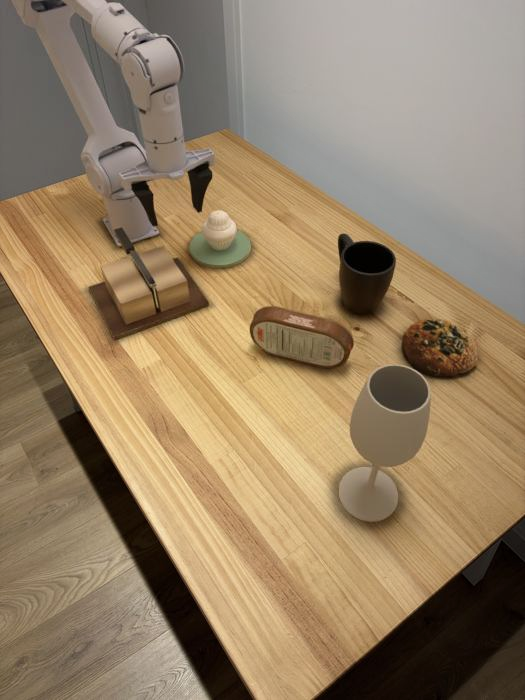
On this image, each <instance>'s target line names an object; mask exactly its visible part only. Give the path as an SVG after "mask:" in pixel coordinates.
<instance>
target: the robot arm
mask: <svg viewBox="0 0 525 700" xmlns="http://www.w3.org/2000/svg"><path fill="white" fill-rule="evenodd" d="M11 2H12V5H13V7H14V8H15V10H16V13H17V14H18V16H19V17H20V19H21V21H22V23H23V25H25V26H28V27H31V28H34V29H35V31H36V33H37V35H38V37H39V39H40V41H41V44H43V47H44V49H45V51H46V53H47V55H48V57H49V59H50V61H51V63H52V66H53V67H54V69H55V71H56V74H57V75H58V77H59V81H61V84H62V86H63V88H64V89H65V92H66V94H67V96H68V98H69V100H70V102H71V104H72V107H73V108H74V110H75V112H76V114H77V116H78V118H79V120H80V122H81V124H82V126H83V128H84V131H85V133H86V134H87V140H86V141H85V144H84V147H83V149H82V151H81V154H80V159H81V162H82V164H83V166H84V170H85V175H86V178H87V181H88V182H89V184H90V186H91V187H92V189H93V190H94V191H95V192H96V193H97V194H98V195H100V196H102V197H101V198H102V201H103V205H104V209H105V213H106V217H103V218H102V222H103V224H104V225H105V227H106V229H107V230H108V233H109V234H110V235H111V237H112V238H113V240H114V242H115V244H116V246H117V247H122V245H121V244H120V242H119V240H118V239H117V237H116V235H115V232H114V229H118V228H121V227H122V228H123V230H124V231H125V233H126V235H127V236H128V238H129V239H130V241H131V243H132V244H134V243H137V242H140V241H143V240H146V239H150V238H153V237H155V236H159V235H160V231H159V230H158V228H157V226H158V219H157V215H156V211H155V203H154V193H153V191H152V190H151V189H150V185H149V184H148V183H149V182H152V181H155V180H163V179H164V180H165V179H166V180H167V179H169V180H171V181H177V180H180V179H184V177H185V174H186V173H187V177H188V181H189V187H190V198H191V204H192V208H194V210H195V211H196V212H197V213H198V214H199V213H202V212H203V206H204V200H205V197H206V196H205V195H206V194H207V193H206V192H207V190H208V188H209V185H210V183H211V182H212V180H213V171H212V169H211V168H210V167H214V166H216V155H215V152H214V151H212V150H211V148H204V149H199V150H198V149H197V150H186V145H185V135H184V127H183V120H182V111H181V103H180V97H179V96H180V95H179V88H178V83H181V82H182V81H183V79H184V77H185V71H186V70H185V69H186V68H185V61H184V58H183V55H182V52H181V50H180V48H179V46H178V45H177V43H176V42H175V41H174V40H173V38H172V37H171V36H170V35H168V34H160V35H159V34H158V33H157V32H155V33H151V32H150V31H149V30H148V29H147V28H146V27H145V26H144V25H143V24H142V23H141V22H140V21H139V20H138V19H137V18H136V17H135V16H134V15H132V14H131V12H129V11H128V10H127V9H126V8H125V7H124V5H123V4H121V3H120V2H107V0H11ZM75 13H76V14H77V15H79V16H80V17H81V18H82V19H83V20H84V21H86V22H87V23H88V24H89V25H90V31H91V36H92V38H93V40H94V42H95V43H96V44H98V45H99V46H100V47H101V48H102V49H103V50H104V51H105V52H106V53H107V54H108V55H109V56H110V57H111V59H113V60H114V61H115V62H116V64H118V65H119V66H120V71H121V74H122V77H123V79H124V81H125V84H126V85H127V87H128V89H129V91H130V97H131V100H132V102H133V104H134V106H135V107H137V113H138V118H139V123H140V127H141V128H140V129H141V134H142V139H143V145H144V147H143V146H142V144H141V142H140V141H139V140H138V138H137V136H136V133H134V132H132V131H129V130H126V129H124V128H122V127H120V126H118V125H117V123H116V121H115V119H114V117H113V115H112V113H111V111H110V109H109V106H108V104H107V102H106V100H105V98H104V95H103V94H102V91H101V89H100V87H99V84H98V83H97V80H96V78H95V76H94V74H93V72H92V70H91V68H90V66H89V64H88V61H87V59H86V57H85V55H84V53H83V51H82V49H81V46H80V44H79V42H78V40H77V38H76V35H75V34H74V31H73V29H72V27H71V24H70V23H71V18H72V16H73V15H74V14H75ZM116 147H120V148H117V149H115V150H112V151H109V152H108V153H106V154H103V155H101V153H103V152H104V153H105V152H106V151H108V150H111V149H113V148H116Z"/></svg>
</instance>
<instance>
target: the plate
mask: <svg viewBox="0 0 525 700" xmlns="http://www.w3.org/2000/svg"><path fill="white" fill-rule="evenodd" d="M188 248H189V254H190V257H191V258H192V259H193V261H195V262H196V263H197V264H198V265H201V266H203V267H206V268H210V269H228V268H233V267H235V266H237V265H239V264H241V263H243V262H244V261H245V260H247V259H248V257H249V255H250V254H251V251H252V243H251V240H250V238H249V237H248V236H247V234H245V232H243V231H241V230H239V229H237V231H236V234H235V237H234V239H233V241H232V243H231V244H230V246H229V247H228V248H227V249H226V250H221V251H220V250H219V251H218V250H215V249H213V248H212V247H211V245H210V244H209V243H208V242H207V241H206V239H205V237H204V235H203V233H202V231H200V232H199V233H197V234H196V235H194V237H192V239H191V241H190V242H189V247H188Z"/></svg>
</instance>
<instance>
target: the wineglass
mask: <svg viewBox="0 0 525 700" xmlns="http://www.w3.org/2000/svg"><path fill="white" fill-rule="evenodd" d="M430 386H431V385H430V383H429V382H428V380H427V379H426V378H425V377H424V375H423V374H422V373H421V372H420V371H418V370H416V369H415V368H413V367H410V366H407V365H404V364H398V363H390V364H385V365H381V366H379V367H377V368H375V369H374V370H373V371H372V372H371V373H370V374H369V375H368V377H367V379H366V381H365V383H364V385H363V387H362V388H361V390H360V392H359V394H358V396H357V398H356V400H355V403H354V406H353V408H352V411H351V416H350V421H349V436H350V440H351V443H352V445H353V447H354V449H355V451H357V453H358V455H360V456H361V457H362V458H363V459H364V460H365V461H367V462H369V463H370V464H372V467H370V466H358V467H355V468H353V469H350V470H349V471H347V472H346V473H345V474H344V475H343V476H342V478H341V480H340V481H339V485H338V498H339V501H340V504H341V506H342V507H343V508H344V510H345V511H346V512H347V513H348V514H349V515H351V516H352V517H354V518H355V519H358V520H360V521H363V522H367V523H376V522H380V521H383V520H385V519H388V517H390V516H391V515H392V514H394V512H395V511H396V508H397V506H398V502H399V492H398V489H397V486H396V483H395V482H394V481H393V480H392V478H391V477H390V476H389V475H388V474H387V473H385V472H384V471H382V470H380V467H382V468H383V467H384V468H395V467H398V466H401V465H404V464H405V463H407V462H408V461H411V460H412V459H414V458H415V456H416V455H417V454H418V453H419V451H420V450H421V448H422V446H423V444H424V441H425V439H426V437H427V433H428V428H429V423H430V422H429V421H430V416H431V415H430V414H431V403H432V401H431V400H432V392H431V387H430Z"/></svg>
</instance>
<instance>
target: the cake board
mask: <svg viewBox="0 0 525 700" xmlns="http://www.w3.org/2000/svg"><path fill="white" fill-rule="evenodd" d="M138 255H139V257H140V258H141V260H142V261H143V263H144V265H145V266H146V268H147V269H148V271H149V273H150V274H151V276H152V277H153V279H154V281H155V282H156V285H157V286H155V291H156V296H157V301H158V306H159V309H157V308H156V306H155V305H154V300H153V295H152V292H151V290H150V289H149V287H148V285H147V284H146V282H145V280H144V279H143V277H142V276H141V274H140V272H139V271H138V269H137V267H136V266H135V263H134V260H133V258H132V257H131V256H127V257H125V258H121V259H118V260H115V261H112V262H107V263H105V264H103V265H100V270H101V273H102V277H103V280H104V281H102V282H100V283H96V284H93V285H90V286H88V287H87V288H88V290H89V293H90V294H91V297H92V299H93V301H94V303H95V305H96V307H97V309H98V311H99V313H100V315H101V317H102V319H103V321H104V323H105V324H106V327H107V329H108V331H109V333H110V335H111V337H112V339H113V340H114V341H117V340H119V339H122V338H125V337H127V336H130V335H133V334H135V333H137V332H141V331H144V330H146V329H150V328H152V327H155V326H158V325H160V324H163V323H165V322H168V321H171V320H173V319H176V318H179V317H182V316H184V315H187V314H190V313H193V312H196V311H199V310H201V309H203V308H206V307H209V306H210V302H209V300H208V299H207V297H206V295H204V293H203V292H202V291H201V289H200V288H199V286H198V284H197V283H196V282H195V280H194V278H193V277H192V276H191V275H190V273H189V272H188V270H187V269H186V268H185V266H184V264H183V262H181V260H180V259H179V257H174V258H172V256H171V255H170V253H169V252H168V251H167V249H166V247H165V246H164V245H162V246H159V247H155V248H153V249H149V250H146V251H142V252H140V253H138Z"/></svg>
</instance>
